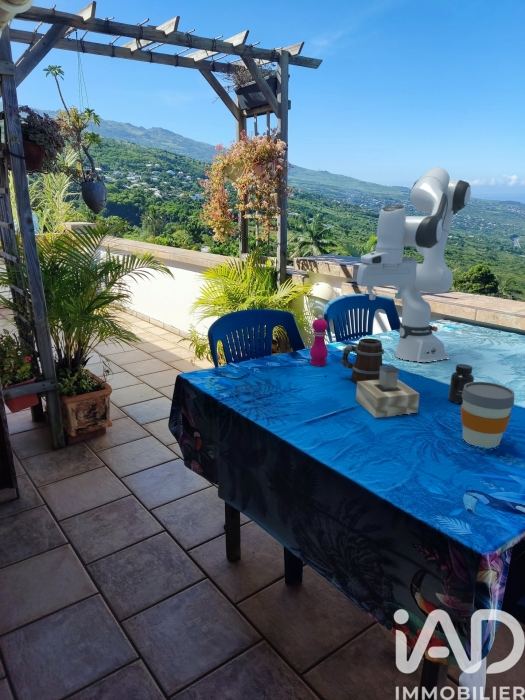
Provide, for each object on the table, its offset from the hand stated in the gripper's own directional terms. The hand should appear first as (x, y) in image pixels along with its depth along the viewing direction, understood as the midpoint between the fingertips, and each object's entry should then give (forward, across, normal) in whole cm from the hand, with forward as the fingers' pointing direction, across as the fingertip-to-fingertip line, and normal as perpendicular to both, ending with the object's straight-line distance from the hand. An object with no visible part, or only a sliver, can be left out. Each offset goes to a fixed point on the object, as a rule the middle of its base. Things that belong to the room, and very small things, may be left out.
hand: (385, 299), depth 157 cm
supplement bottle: (+31, -20, +18) cm, 41 cm away
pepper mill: (+31, +12, -28) cm, 44 cm away
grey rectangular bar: (+30, +6, +17) cm, 35 cm away
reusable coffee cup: (+31, -8, +44) cm, 55 cm away
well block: (+31, +6, +17) cm, 36 cm away
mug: (+31, +3, -7) cm, 32 cm away
